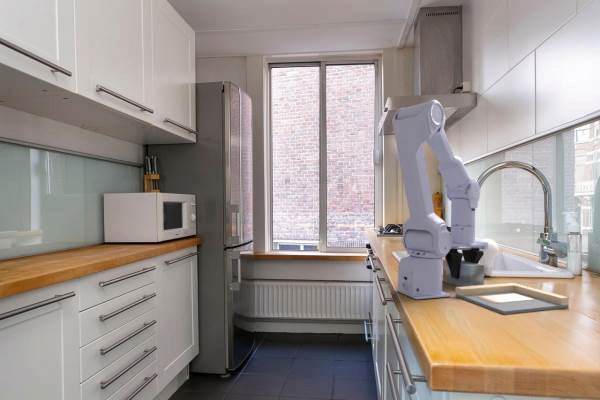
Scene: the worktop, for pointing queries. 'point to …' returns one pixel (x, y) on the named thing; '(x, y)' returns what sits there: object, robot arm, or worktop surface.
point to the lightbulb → (489, 256)
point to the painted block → (465, 274)
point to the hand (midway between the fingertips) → (462, 277)
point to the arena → (511, 298)
